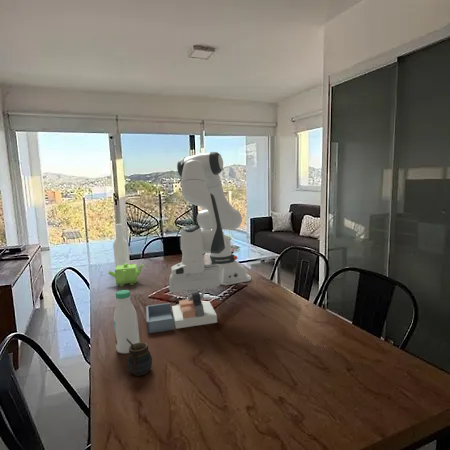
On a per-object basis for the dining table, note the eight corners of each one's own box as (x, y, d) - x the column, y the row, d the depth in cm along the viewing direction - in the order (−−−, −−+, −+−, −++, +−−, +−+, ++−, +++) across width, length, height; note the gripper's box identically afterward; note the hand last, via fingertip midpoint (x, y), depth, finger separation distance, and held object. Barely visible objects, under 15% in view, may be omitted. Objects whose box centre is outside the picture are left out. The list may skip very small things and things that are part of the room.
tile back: (191, 304, 147) (190, 299, 146) (192, 309, 142) (192, 303, 142) (179, 306, 146) (178, 300, 145) (180, 310, 141) (180, 304, 141)
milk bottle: (144, 345, 120) (139, 289, 117) (129, 355, 113) (123, 296, 110) (127, 341, 123) (121, 287, 120) (111, 352, 116) (105, 294, 113)
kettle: (146, 281, 194) (145, 262, 192) (127, 289, 182) (124, 268, 181) (128, 278, 202) (126, 259, 201) (108, 285, 190) (106, 265, 189)
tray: (170, 312, 147) (169, 302, 147) (174, 329, 131) (173, 318, 130) (147, 316, 145) (146, 305, 144) (147, 333, 129) (146, 322, 128)
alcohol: (112, 272, 218) (108, 224, 213) (124, 268, 225) (119, 222, 221) (122, 273, 213) (117, 225, 208) (133, 270, 220) (128, 223, 216)
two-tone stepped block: (198, 302, 148) (195, 286, 147) (204, 314, 134) (201, 297, 133) (191, 303, 147) (188, 288, 146) (196, 316, 134) (193, 299, 132)
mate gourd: (147, 379, 99) (144, 346, 98) (123, 378, 101) (119, 345, 99) (157, 365, 106) (153, 334, 105) (133, 364, 108) (130, 334, 106)
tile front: (194, 311, 139) (193, 305, 139) (195, 316, 134) (195, 310, 134) (181, 313, 138) (181, 307, 138) (183, 318, 133) (182, 312, 133)
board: (209, 307, 150) (209, 301, 150) (217, 322, 135) (216, 315, 135) (172, 312, 147) (171, 306, 146) (175, 328, 131) (175, 321, 131)
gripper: (217, 261, 144) (219, 293, 145) (167, 267, 139) (169, 300, 141) (220, 265, 137) (222, 298, 139) (168, 271, 133) (171, 305, 135)
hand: (195, 299), depth 140 cm, fingers closed on two-tone stepped block, 3 cm apart
